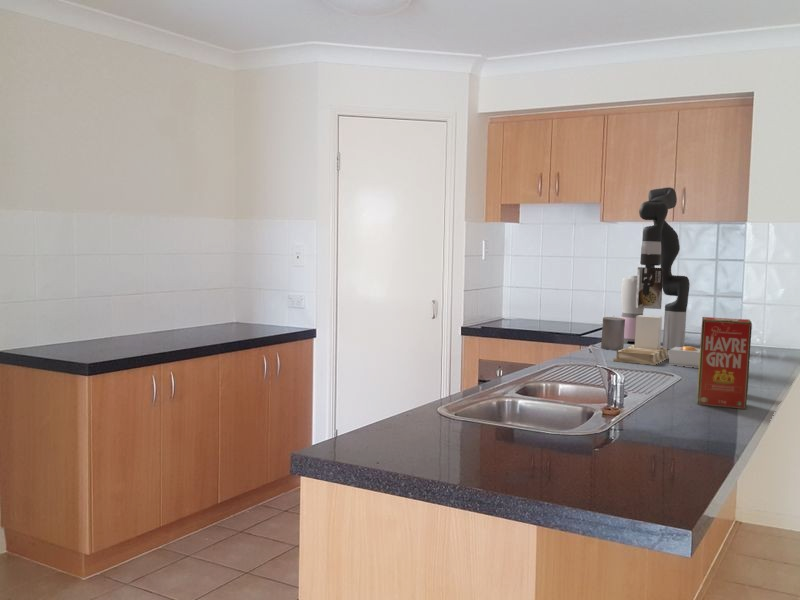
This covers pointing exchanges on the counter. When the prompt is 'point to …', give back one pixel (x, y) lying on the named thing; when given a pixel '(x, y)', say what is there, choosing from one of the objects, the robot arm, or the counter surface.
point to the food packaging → (724, 362)
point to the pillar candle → (613, 333)
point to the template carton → (648, 332)
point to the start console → (684, 357)
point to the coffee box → (650, 290)
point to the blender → (629, 307)
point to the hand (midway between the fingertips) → (648, 294)
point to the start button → (689, 348)
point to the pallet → (641, 355)
